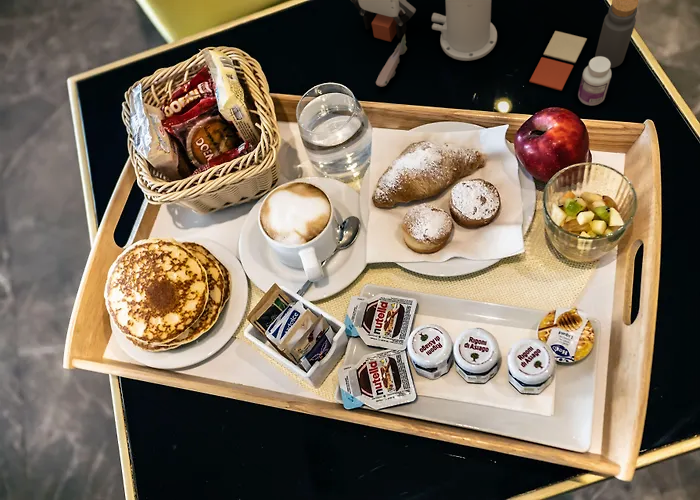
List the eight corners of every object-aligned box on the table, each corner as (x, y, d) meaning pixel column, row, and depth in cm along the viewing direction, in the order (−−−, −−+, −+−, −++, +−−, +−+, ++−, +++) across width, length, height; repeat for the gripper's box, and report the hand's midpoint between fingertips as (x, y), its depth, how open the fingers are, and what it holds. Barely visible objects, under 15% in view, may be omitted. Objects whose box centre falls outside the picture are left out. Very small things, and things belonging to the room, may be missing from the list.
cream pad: (543, 54, 132) (543, 53, 132) (555, 32, 134) (555, 30, 134) (575, 63, 130) (575, 61, 129) (586, 39, 132) (586, 38, 131)
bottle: (623, 68, 127) (641, 13, 113) (594, 68, 128) (608, 13, 115) (624, 47, 129) (641, -10, 116) (595, 46, 131) (609, -10, 117)
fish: (412, 50, 139) (410, 34, 135) (385, 96, 135) (383, 81, 130) (401, 47, 140) (399, 31, 136) (375, 93, 136) (372, 78, 131)
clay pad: (529, 82, 130) (529, 80, 129) (541, 58, 132) (541, 56, 131) (561, 91, 127) (561, 89, 127) (573, 66, 129) (573, 65, 129)
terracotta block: (374, 37, 143) (371, 22, 139) (382, 23, 144) (380, 9, 141) (390, 42, 142) (388, 27, 138) (399, 28, 143) (397, 13, 139)
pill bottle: (585, 82, 127) (593, 49, 118) (609, 91, 125) (619, 58, 116) (572, 100, 126) (580, 68, 117) (597, 110, 124) (606, 78, 115)
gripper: (421, -37, 125) (426, 27, 140) (348, -54, 131) (360, 9, 146) (404, -12, 122) (411, 50, 138) (331, -30, 128) (346, 32, 144)
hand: (385, 29), depth 142 cm, fingers open, 7 cm apart
